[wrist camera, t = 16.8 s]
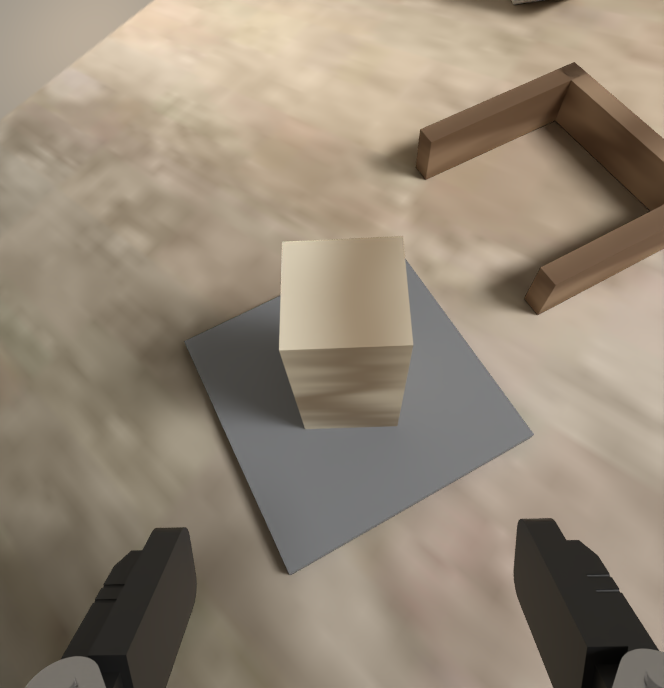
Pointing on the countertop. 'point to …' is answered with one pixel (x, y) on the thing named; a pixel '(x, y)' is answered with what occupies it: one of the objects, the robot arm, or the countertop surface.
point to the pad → (351, 429)
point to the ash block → (346, 330)
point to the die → (523, 1)
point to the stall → (589, 131)
